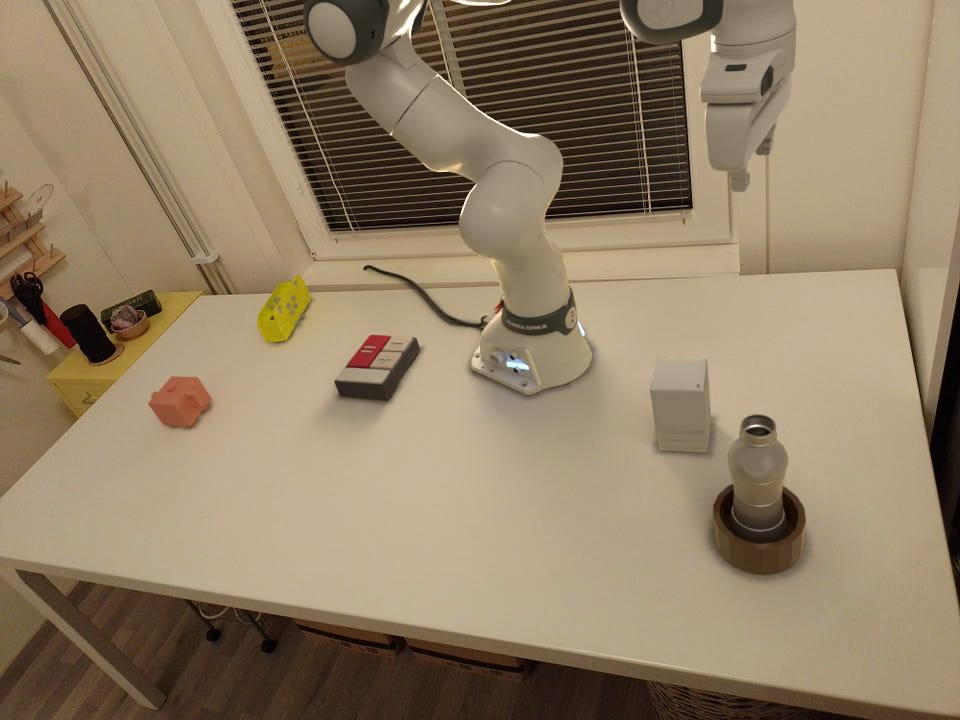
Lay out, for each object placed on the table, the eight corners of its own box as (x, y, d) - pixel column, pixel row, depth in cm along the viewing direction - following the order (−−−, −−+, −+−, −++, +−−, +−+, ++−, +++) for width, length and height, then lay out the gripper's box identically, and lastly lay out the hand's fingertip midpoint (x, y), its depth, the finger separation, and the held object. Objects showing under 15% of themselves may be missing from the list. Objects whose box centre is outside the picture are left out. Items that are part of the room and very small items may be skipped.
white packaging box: (712, 418, 108) (709, 356, 100) (708, 455, 102) (704, 392, 95) (662, 415, 110) (656, 354, 103) (656, 451, 105) (649, 389, 98)
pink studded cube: (176, 400, 146) (156, 371, 141) (222, 402, 142) (202, 372, 137) (154, 428, 141) (131, 398, 136) (200, 431, 136) (179, 400, 131)
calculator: (416, 333, 137) (381, 382, 127) (422, 351, 140) (388, 400, 129) (368, 332, 142) (331, 379, 131) (375, 349, 144) (339, 396, 134)
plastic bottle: (789, 556, 87) (795, 446, 75) (731, 555, 89) (728, 447, 77) (782, 513, 92) (787, 403, 79) (727, 513, 94) (724, 406, 81)
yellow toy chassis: (289, 343, 153) (273, 313, 148) (266, 345, 154) (250, 315, 149) (314, 300, 164) (300, 270, 159) (293, 302, 166) (278, 273, 161)
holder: (702, 557, 90) (700, 531, 87) (730, 495, 96) (729, 469, 93) (789, 588, 84) (791, 561, 81) (813, 520, 90) (815, 493, 87)
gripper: (752, 26, 87) (752, 133, 95) (693, 95, 75) (699, 209, 84) (807, 22, 83) (802, 133, 92) (753, 93, 72) (753, 213, 80)
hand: (752, 170), depth 88 cm, fingers open, 8 cm apart
